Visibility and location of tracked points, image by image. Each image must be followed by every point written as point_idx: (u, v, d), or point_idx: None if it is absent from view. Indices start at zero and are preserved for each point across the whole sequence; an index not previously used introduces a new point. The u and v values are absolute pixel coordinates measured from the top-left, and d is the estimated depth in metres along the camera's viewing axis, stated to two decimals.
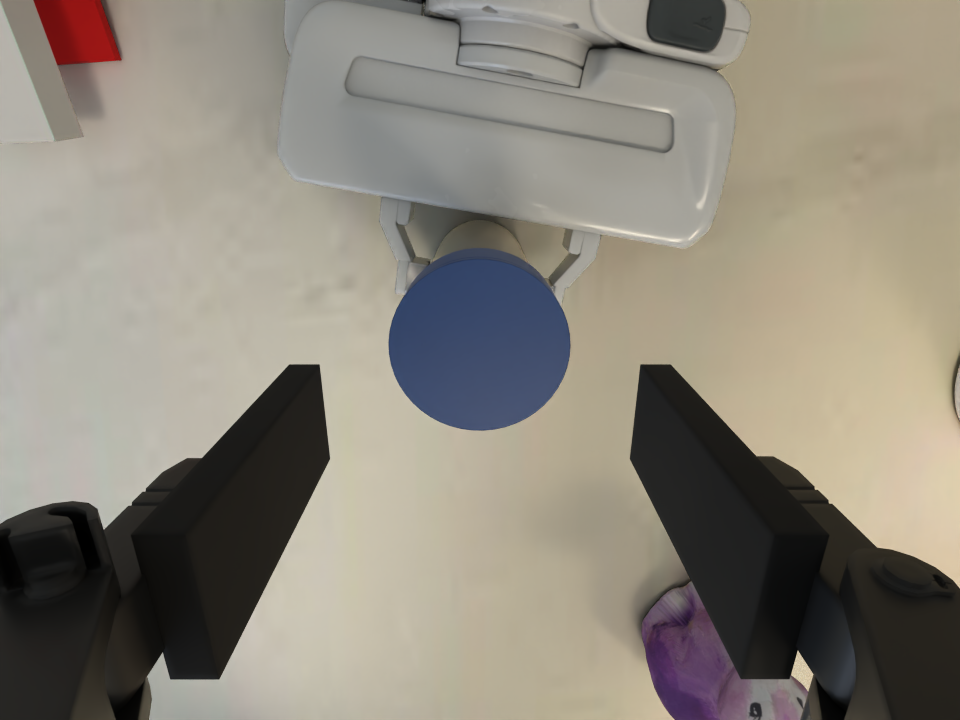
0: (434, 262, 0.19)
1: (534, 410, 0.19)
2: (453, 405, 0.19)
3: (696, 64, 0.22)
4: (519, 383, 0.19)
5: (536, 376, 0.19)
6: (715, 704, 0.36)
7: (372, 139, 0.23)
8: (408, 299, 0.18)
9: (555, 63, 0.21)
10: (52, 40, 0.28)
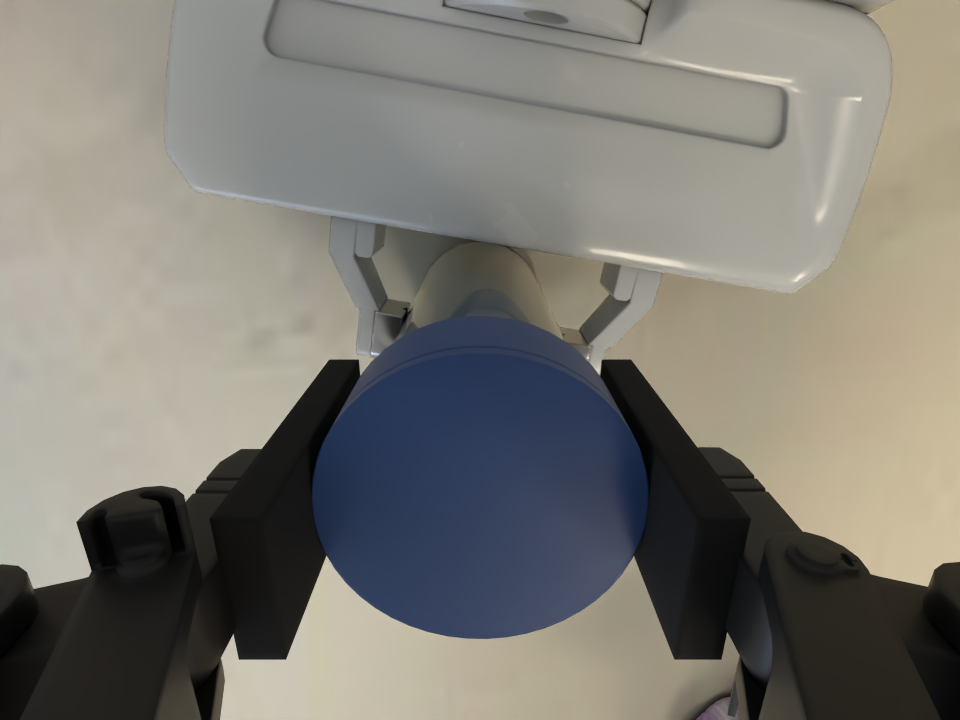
0: (399, 343, 0.11)
1: (578, 608, 0.11)
2: (433, 601, 0.11)
3: (837, 2, 0.13)
4: (552, 566, 0.10)
5: (584, 555, 0.10)
6: None
7: (311, 128, 0.15)
8: (344, 426, 0.09)
9: None
10: None
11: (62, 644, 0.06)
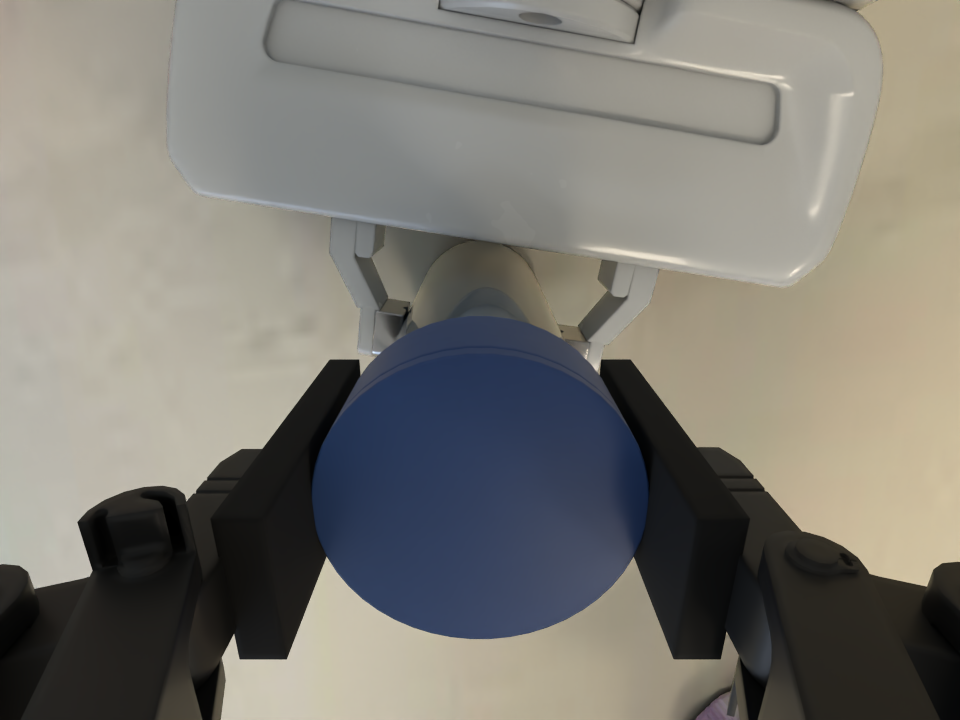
0: None
1: (466, 359, 0.09)
2: (592, 457, 0.10)
3: (827, 0, 0.13)
4: (457, 423, 0.09)
5: (420, 416, 0.09)
6: None
7: (310, 130, 0.15)
8: (522, 627, 0.11)
9: (599, 0, 0.13)
10: None
11: (63, 644, 0.06)
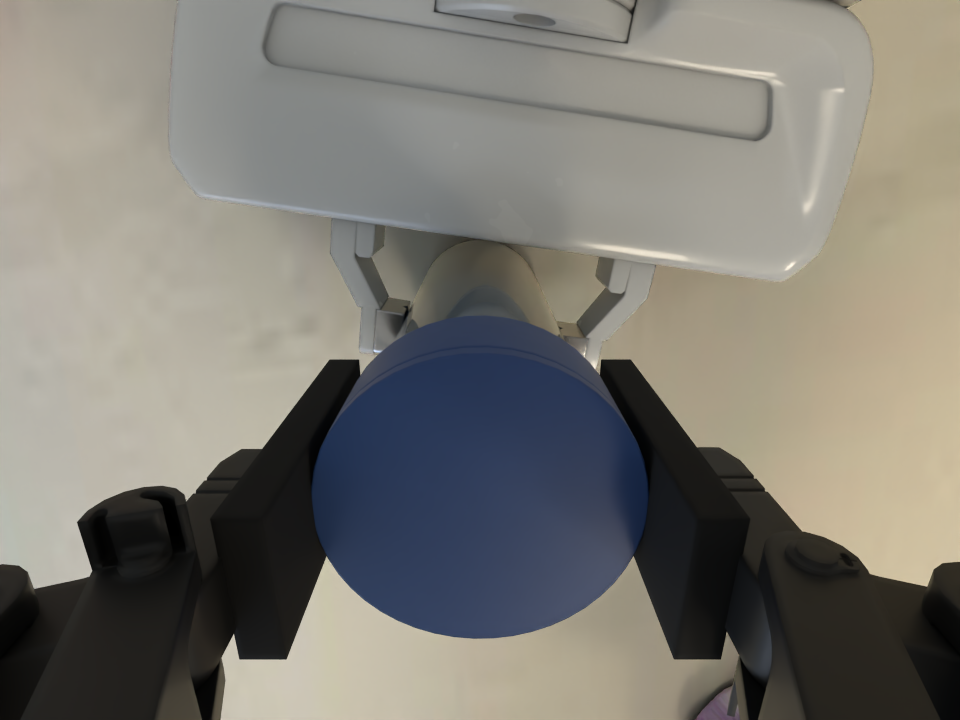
0: (582, 358, 0.11)
1: (400, 618, 0.11)
2: (354, 500, 0.10)
3: None
4: (440, 585, 0.11)
5: (463, 604, 0.11)
6: None
7: (310, 133, 0.15)
8: (538, 371, 0.09)
9: (592, 1, 0.13)
10: None
11: (63, 644, 0.06)
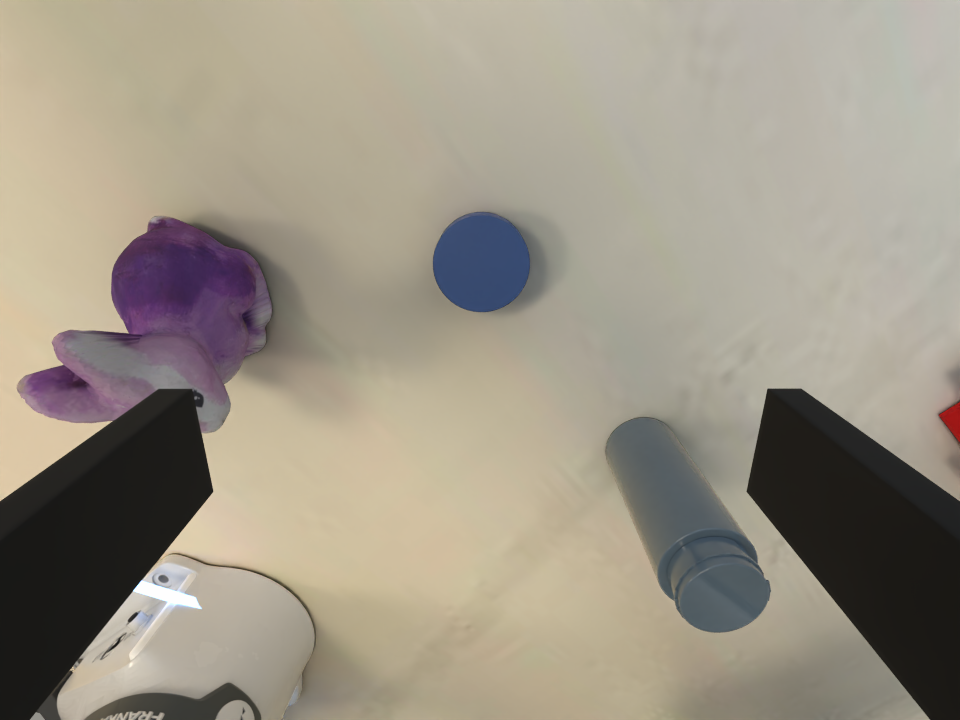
0: (512, 224, 0.36)
1: (457, 304, 0.36)
2: (445, 261, 0.35)
3: None
4: (469, 291, 0.35)
5: (476, 298, 0.35)
6: (183, 326, 0.30)
7: None
8: (496, 220, 0.34)
9: None
10: None
11: None
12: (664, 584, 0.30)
